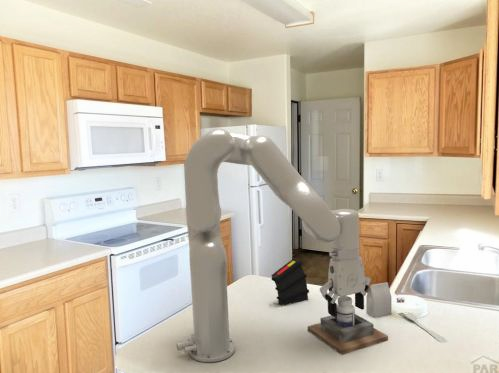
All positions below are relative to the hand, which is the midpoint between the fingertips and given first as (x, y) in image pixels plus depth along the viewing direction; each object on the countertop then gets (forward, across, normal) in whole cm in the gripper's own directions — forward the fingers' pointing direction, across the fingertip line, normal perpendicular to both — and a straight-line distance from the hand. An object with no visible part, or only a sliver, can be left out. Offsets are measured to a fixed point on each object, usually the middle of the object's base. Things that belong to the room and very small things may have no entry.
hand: (346, 311), depth 114 cm
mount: (+7, 0, 0) cm, 7 cm away
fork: (+8, +22, -7) cm, 24 cm away
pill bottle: (+6, 0, 0) cm, 6 cm away
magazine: (+7, -1, +29) cm, 30 cm away
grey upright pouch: (+7, +18, +6) cm, 20 cm away
